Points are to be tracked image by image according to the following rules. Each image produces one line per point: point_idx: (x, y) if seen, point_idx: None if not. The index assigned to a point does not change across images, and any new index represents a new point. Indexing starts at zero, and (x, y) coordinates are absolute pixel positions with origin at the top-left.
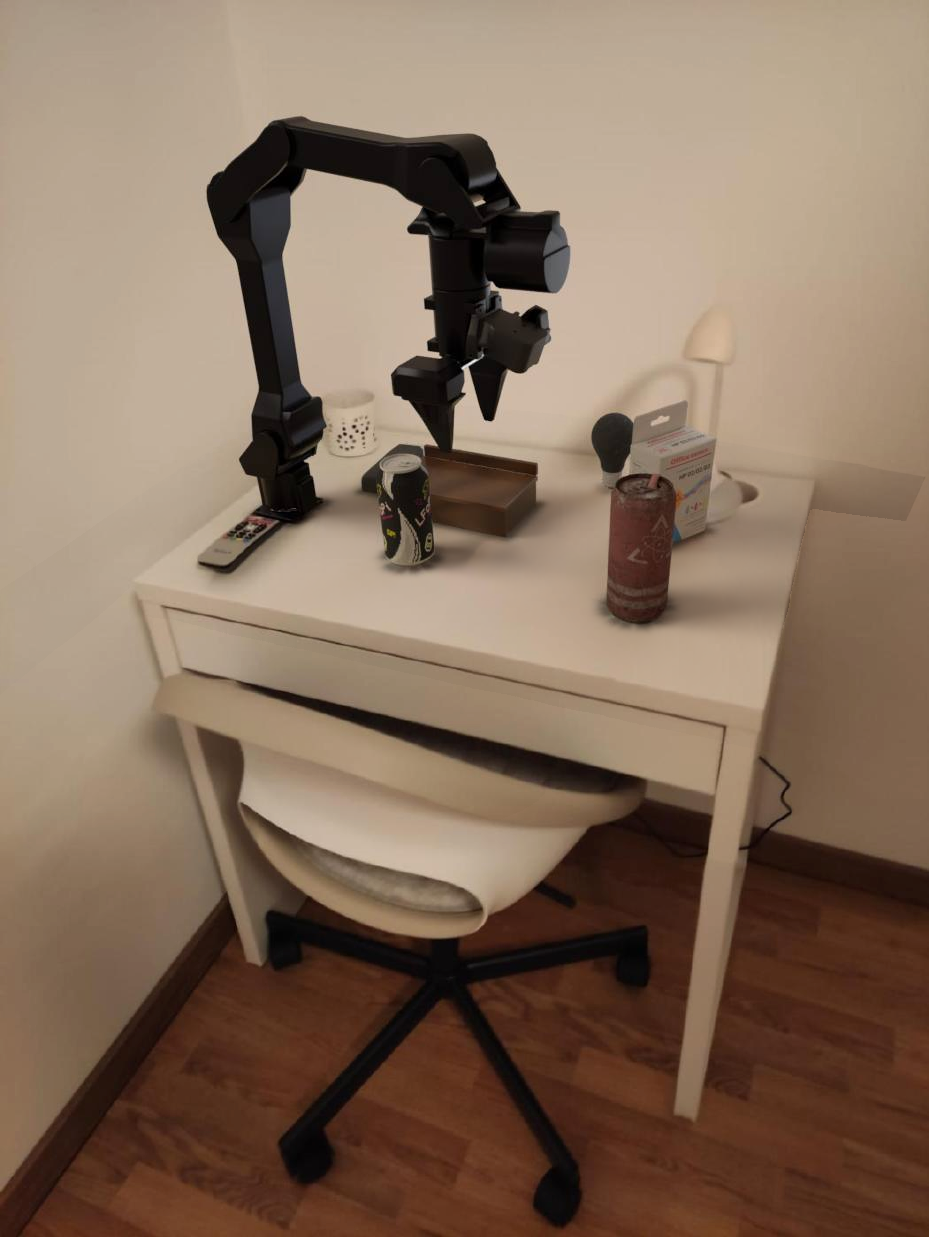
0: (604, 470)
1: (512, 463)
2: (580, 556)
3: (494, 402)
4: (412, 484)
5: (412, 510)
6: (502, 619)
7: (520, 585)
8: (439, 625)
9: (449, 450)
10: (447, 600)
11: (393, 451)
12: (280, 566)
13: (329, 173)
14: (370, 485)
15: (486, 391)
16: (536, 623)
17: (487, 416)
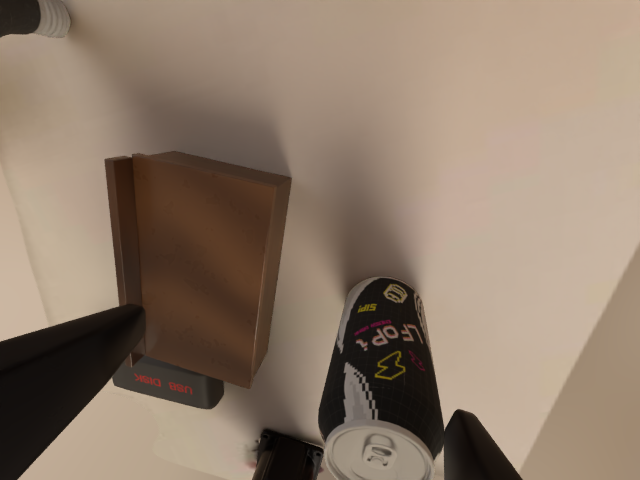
0: (37, 21)
1: (122, 211)
2: (326, 9)
3: (67, 349)
4: (430, 408)
5: (427, 361)
6: (584, 107)
7: (452, 105)
8: (601, 216)
9: (480, 426)
10: (513, 223)
11: (135, 388)
12: None
13: None
14: (218, 392)
15: (17, 421)
16: (604, 29)
17: (132, 333)
